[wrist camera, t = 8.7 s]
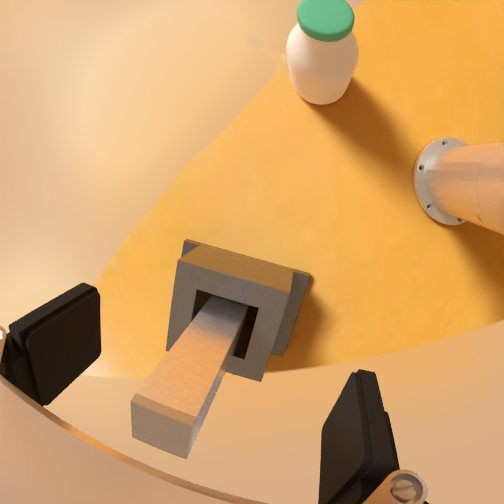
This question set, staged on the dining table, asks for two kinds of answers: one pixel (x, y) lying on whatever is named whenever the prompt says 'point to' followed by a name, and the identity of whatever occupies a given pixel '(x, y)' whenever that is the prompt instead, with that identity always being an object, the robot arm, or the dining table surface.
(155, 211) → the dining table surface
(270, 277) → the housing
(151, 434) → the column
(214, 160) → the dining table surface
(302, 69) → the milk bottle
